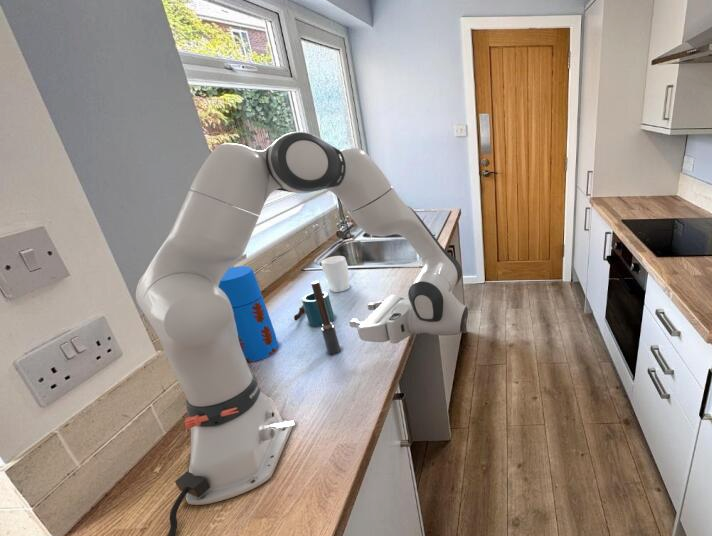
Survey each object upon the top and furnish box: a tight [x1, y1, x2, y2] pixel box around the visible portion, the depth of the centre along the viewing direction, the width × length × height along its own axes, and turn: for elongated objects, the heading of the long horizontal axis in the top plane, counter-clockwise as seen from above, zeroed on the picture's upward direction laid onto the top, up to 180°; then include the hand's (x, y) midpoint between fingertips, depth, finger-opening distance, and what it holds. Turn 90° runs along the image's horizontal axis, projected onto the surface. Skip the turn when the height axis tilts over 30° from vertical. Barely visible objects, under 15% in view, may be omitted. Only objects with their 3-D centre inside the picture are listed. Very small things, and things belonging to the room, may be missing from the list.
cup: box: [320, 255, 350, 293], centre depth 155 cm, size 9×9×12 cm
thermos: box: [219, 265, 279, 363], centre depth 114 cm, size 11×11×25 cm
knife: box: [293, 304, 306, 322], centre depth 140 cm, size 18×2×3 cm, turn 11°
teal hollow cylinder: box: [301, 290, 335, 327], centre depth 133 cm, size 8×8×9 cm
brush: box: [310, 280, 341, 355], centre depth 112 cm, size 3×3×22 cm
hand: (360, 314), depth 109 cm, fingers open, 8 cm apart
